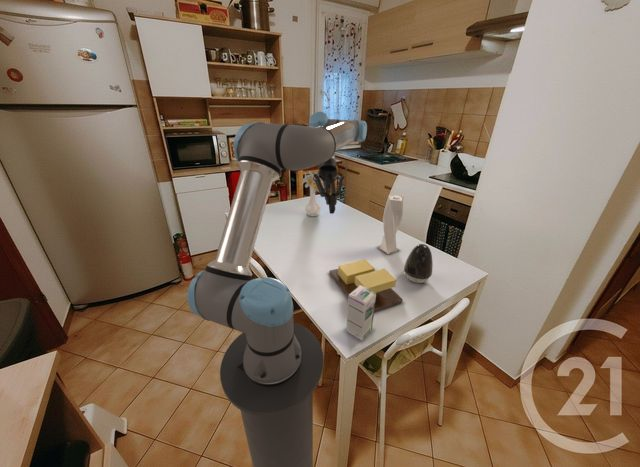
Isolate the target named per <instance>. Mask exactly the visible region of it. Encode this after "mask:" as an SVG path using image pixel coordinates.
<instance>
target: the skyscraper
mask: <svg viewBox="0 0 640 467" xmlns="http://www.w3.org/2000/svg"><path fill="white" fill-rule="evenodd" d="M404 198H405V195H404V193H402V194H401V196H400V195H397V194H394V195H391V194H389V195H388V198H387V202H386V206H385V209H384V215H383V237H382V240H381V243H380V245H378V246H377V249H378V250H380V251H381V252H383V253H384V254H387V255H391V254H393V253H394V254H395V253H397V252H399V251H400V249H399V248H397V232H398V230H399V228H400V226H401V223H402V220H403V214H404Z"/></svg>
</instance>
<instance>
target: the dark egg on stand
mask: <svg viewBox="0 0 640 467" xmlns="http://www.w3.org/2000/svg"><path fill="white" fill-rule="evenodd" d="M433 263H434V262H433V254H432V251H431V249H430V247H429V246H428V245H427V244H424V243H419V244H417V245H416V246H414V247H413V249H412V250H411V252H409V254H408V256H407V258H406V260H405V263H404V266H403V271H404V275H405V276H406V278H407V279H408V280H409V281H411V282H412V283H416V284H421V283H425V282H427V281H428V280H429V279H430V278H431V276H432V275H433V268H434V266H433Z"/></svg>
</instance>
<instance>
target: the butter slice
mask: <svg viewBox="0 0 640 467" xmlns="http://www.w3.org/2000/svg"><path fill="white" fill-rule="evenodd" d="M397 281H398V280H397V278H396V277H394V276H393V275H392V274H391V273H390V272H389V271H388V270H386V269H385V268H380V269H377V270H375V271H373V272H370V273H366V274H363V275H359V276H355V284H356V286H357V287H358V286H359V285H361V286H363V287H366V288H368V289H370V290H371V291H373V292H375V293H377V292H380V291H383V290H386V289H389V288H391V289H394V288H396V285H397Z"/></svg>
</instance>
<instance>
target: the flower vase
mask: <svg viewBox="0 0 640 467" xmlns="http://www.w3.org/2000/svg"><path fill="white" fill-rule="evenodd" d="M308 173H309V174H307V172H305V173H304V178H303V179H302V183H301V184H300V186H302V185H303V184H304V187H305V188H308V187H309V202H308V203H307V204H306V205H305V207H304V211H305V213H306V214H307V216H309V217H316V216H318V215H319V213H320V212H321V206H320V205H319V204H318V202H317V199H316V193H317V192H318V193H319V190H318V188H317V185H316V183H315V181H314V180H313V175H314V174H318V172H317V171H315V172H313V171H312V170H308ZM320 180H321V179H320ZM321 183H322V186H323V188H324V184H323V181H322V180H321Z"/></svg>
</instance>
